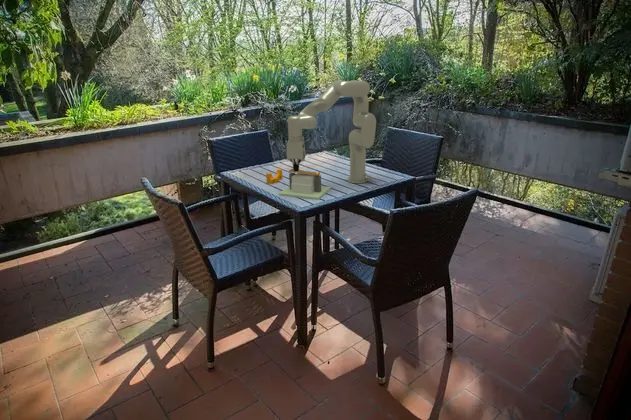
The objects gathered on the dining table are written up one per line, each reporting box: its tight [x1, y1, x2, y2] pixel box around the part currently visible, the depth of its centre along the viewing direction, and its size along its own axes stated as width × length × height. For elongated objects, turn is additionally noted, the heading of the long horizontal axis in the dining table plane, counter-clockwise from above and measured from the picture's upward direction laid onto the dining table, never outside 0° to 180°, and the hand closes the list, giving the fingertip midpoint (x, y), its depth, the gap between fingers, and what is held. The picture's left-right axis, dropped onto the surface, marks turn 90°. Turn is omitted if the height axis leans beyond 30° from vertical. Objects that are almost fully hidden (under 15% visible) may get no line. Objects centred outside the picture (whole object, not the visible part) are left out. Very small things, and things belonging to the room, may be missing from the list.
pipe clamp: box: [265, 168, 284, 185], centre depth 263 cm, size 12×4×6 cm, turn 144°
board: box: [278, 172, 332, 200], centre depth 241 cm, size 24×20×10 cm
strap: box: [288, 168, 321, 176], centre depth 238 cm, size 18×5×1 cm, turn 68°
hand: (296, 170), depth 240 cm, fingers closed
